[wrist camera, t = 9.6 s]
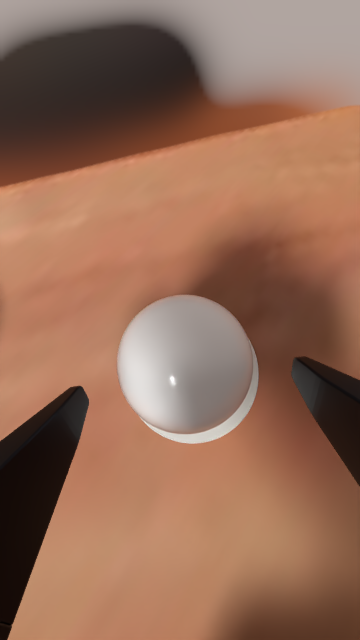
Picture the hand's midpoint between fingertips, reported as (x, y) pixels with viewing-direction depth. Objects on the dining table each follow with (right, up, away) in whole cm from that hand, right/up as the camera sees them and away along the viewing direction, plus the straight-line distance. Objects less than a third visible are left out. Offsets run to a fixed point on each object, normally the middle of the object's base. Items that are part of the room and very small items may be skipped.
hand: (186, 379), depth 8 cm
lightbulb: (+1, -2, +9) cm, 9 cm away
